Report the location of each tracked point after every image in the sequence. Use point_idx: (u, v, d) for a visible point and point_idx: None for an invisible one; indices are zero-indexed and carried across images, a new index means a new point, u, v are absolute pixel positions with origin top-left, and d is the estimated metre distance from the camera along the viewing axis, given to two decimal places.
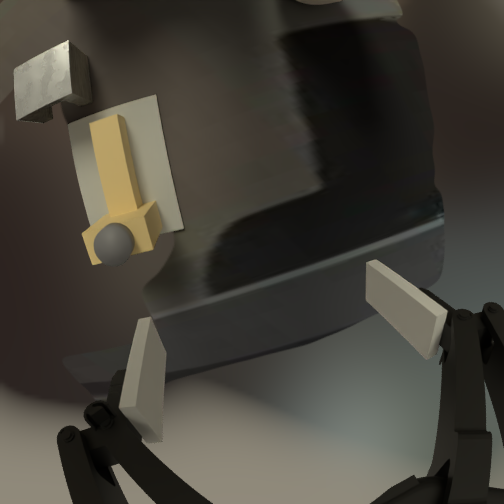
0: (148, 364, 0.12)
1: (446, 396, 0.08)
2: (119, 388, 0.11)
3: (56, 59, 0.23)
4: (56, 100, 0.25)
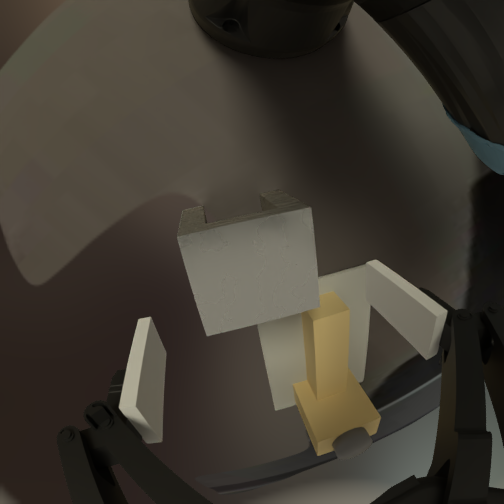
0: (148, 364, 0.12)
1: (446, 396, 0.08)
2: (119, 388, 0.11)
3: (289, 242, 0.20)
4: (292, 314, 0.22)
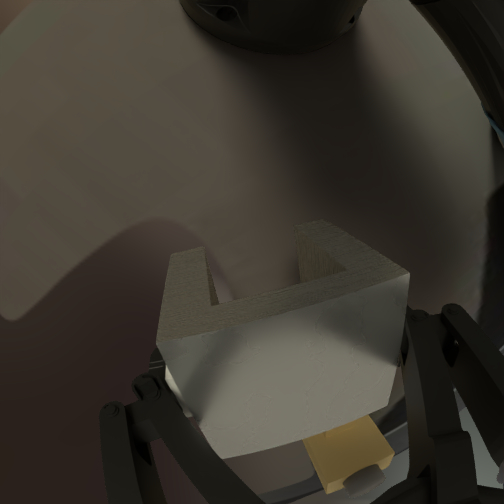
0: None
1: (412, 400, 0.09)
2: (159, 364, 0.12)
3: (366, 335, 0.10)
4: (349, 421, 0.12)
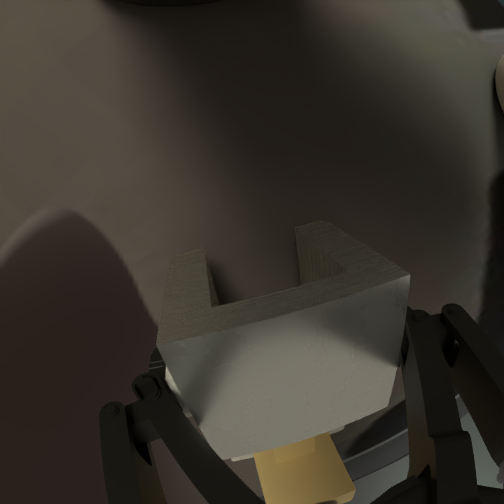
0: None
1: (412, 400, 0.09)
2: (159, 364, 0.12)
3: (367, 337, 0.10)
4: (349, 422, 0.12)
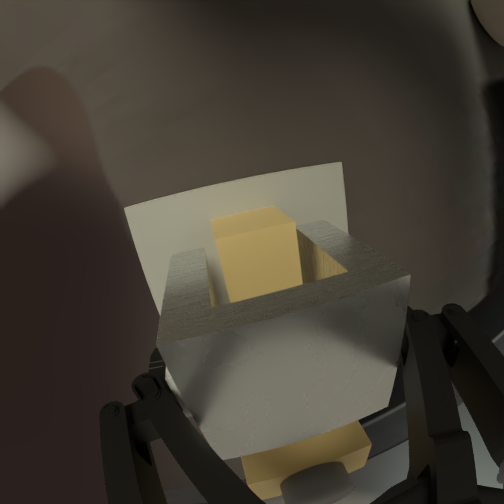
0: None
1: (412, 400, 0.09)
2: (159, 364, 0.12)
3: (367, 337, 0.10)
4: None
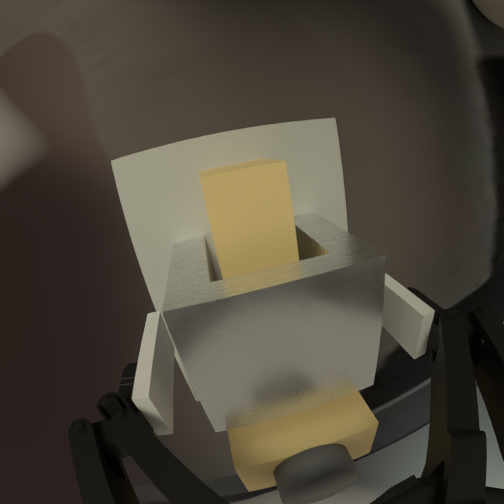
0: (158, 357, 0.13)
1: (436, 397, 0.08)
2: (130, 381, 0.11)
3: (348, 311, 0.12)
4: (336, 398, 0.14)
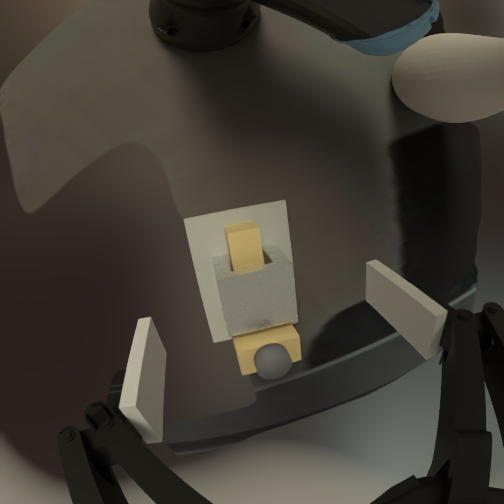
0: (148, 364, 0.12)
1: (446, 396, 0.08)
2: (119, 388, 0.11)
3: (279, 283, 0.34)
4: (280, 324, 0.36)
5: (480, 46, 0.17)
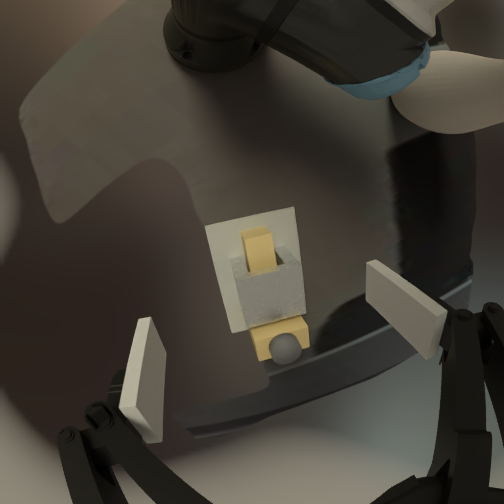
0: (148, 364, 0.12)
1: (446, 396, 0.08)
2: (119, 388, 0.11)
3: (290, 281, 0.39)
4: (291, 316, 0.42)
5: (472, 68, 0.21)
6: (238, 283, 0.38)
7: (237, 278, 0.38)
